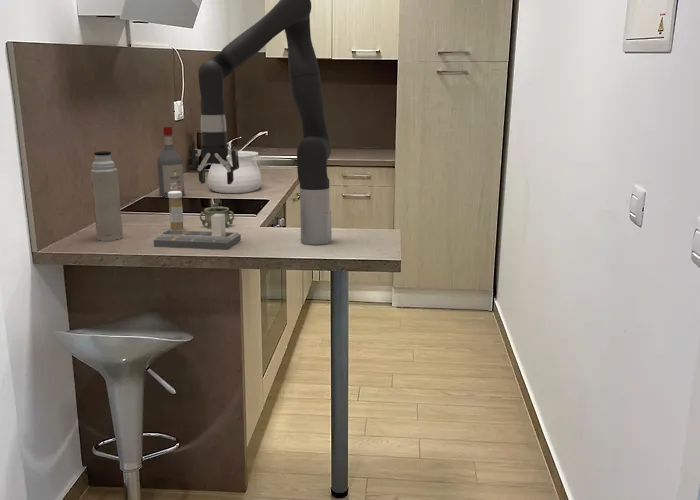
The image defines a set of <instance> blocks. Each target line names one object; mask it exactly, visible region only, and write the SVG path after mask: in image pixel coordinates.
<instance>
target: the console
mask: <svg viewBox="0 0 700 500" xmlns="http://www.w3.org/2000/svg"><path fill="white" fill-rule="evenodd" d="M211 235H212V230H208V231H207V230H188V229H187V230H186V229H184V230H170V229H165V230H163V231H160V232H159V233H157V234H156V238H155V239H153V246H154V247H159V248H184V249H191V248H192V249H209V250H210V249H211V250H212V249H213V250H229V249H231V248H232V247H234V246H235V245H237V244H238V243H240V242H241V241H242V236H241V234H240V233H239V231H237V232H236V231H226V236H225V237H222V236H211ZM240 240H241V241H240Z"/></svg>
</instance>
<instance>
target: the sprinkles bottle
mask: <svg viewBox="0 0 700 500" xmlns="http://www.w3.org/2000/svg"><path fill="white" fill-rule="evenodd" d="M168 198H169V199H168V207H169V209H168V213H169V223H170V225H169V226H170V229H169V230H185V228H184V212H183V209H184V208H183V202H182V201H183V200H182V198H183V197H182V192H181V191H170V192H168Z"/></svg>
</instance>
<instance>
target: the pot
mask: <svg viewBox="0 0 700 500" xmlns="http://www.w3.org/2000/svg"><path fill="white" fill-rule="evenodd" d="M237 151H238V160H239V169H237V170H234V171H233V178H234V180H233V182H232V184H227V172H228V171H227V170H226V168H225V167H224V166H223V165H222V164H215V163H214V164H210V168H209V170H208V174H207V183H208V187H209V189H211V191H213V192H214V191H215V192H214V193H218V192H219V193H218V194H228V193H235V194H244V193H246V194H247V192H248V193H252V192H255V191H257V190H258V189H259V188H260V187H261V186H262V185H261V184H262V183H263V181H262V172H261V170H260V169H259V166H258V163H257V161H261V160H262V156H261V155H259V152H257V151H251V150H248V151H247V150H237ZM226 158H227V159H228V161H229V162H230V164H231V166H232V167H233V165H232V157H230V155H229V154H228V156H227V157H226Z"/></svg>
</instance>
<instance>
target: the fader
mask: <svg viewBox="0 0 700 500" xmlns="http://www.w3.org/2000/svg"><path fill="white" fill-rule="evenodd" d="M211 227H212V228H211V231H212V235H211V236H222V237H225V236H226V232H227V229H226V228H225V214H214V215H212V216H211Z"/></svg>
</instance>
